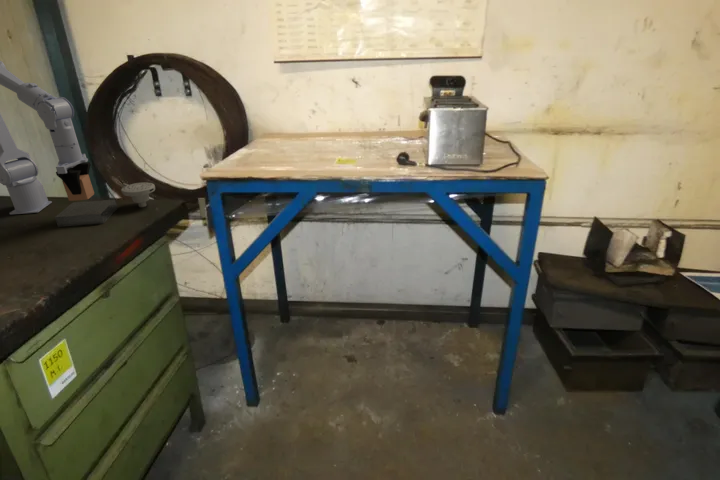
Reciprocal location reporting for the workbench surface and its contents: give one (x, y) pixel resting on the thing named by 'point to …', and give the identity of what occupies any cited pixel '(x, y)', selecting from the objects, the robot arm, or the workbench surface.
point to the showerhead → (138, 192)
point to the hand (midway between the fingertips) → (81, 191)
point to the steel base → (86, 213)
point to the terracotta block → (85, 189)
